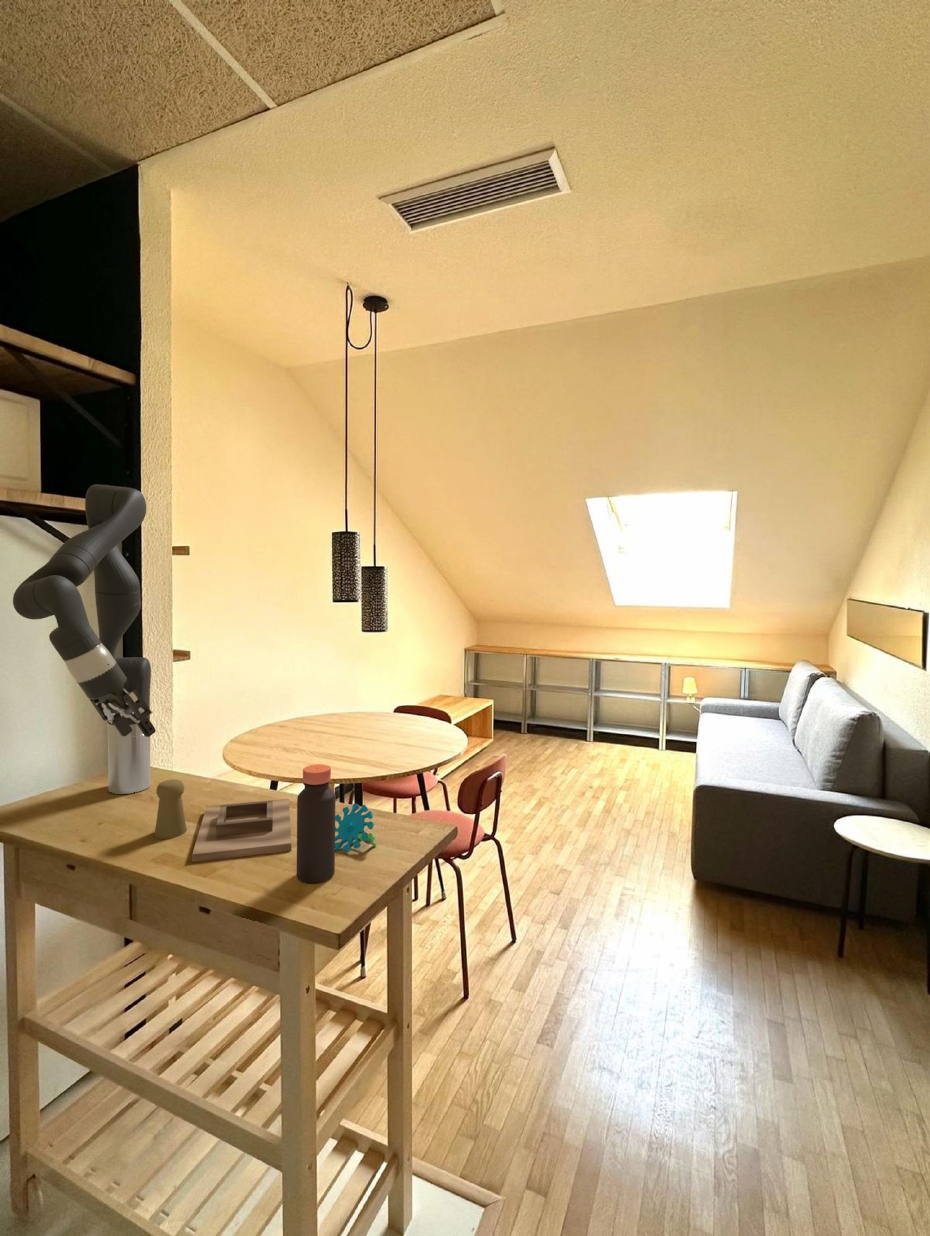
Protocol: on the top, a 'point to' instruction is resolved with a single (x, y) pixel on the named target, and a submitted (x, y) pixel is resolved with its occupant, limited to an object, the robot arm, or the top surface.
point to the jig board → (243, 830)
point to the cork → (170, 810)
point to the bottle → (316, 826)
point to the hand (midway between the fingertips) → (139, 734)
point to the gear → (354, 828)
